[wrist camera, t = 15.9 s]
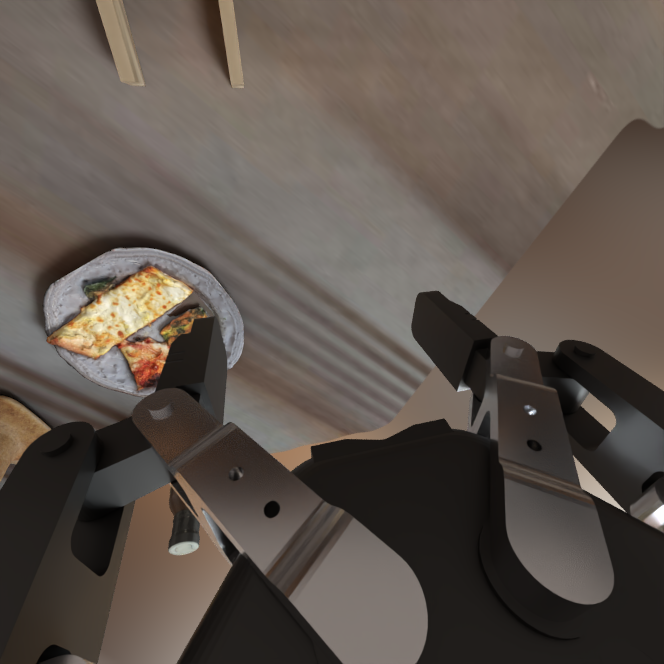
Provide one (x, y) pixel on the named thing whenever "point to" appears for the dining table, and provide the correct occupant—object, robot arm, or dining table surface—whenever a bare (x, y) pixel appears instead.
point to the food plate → (132, 316)
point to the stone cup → (16, 431)
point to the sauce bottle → (182, 527)
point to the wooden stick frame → (126, 52)
